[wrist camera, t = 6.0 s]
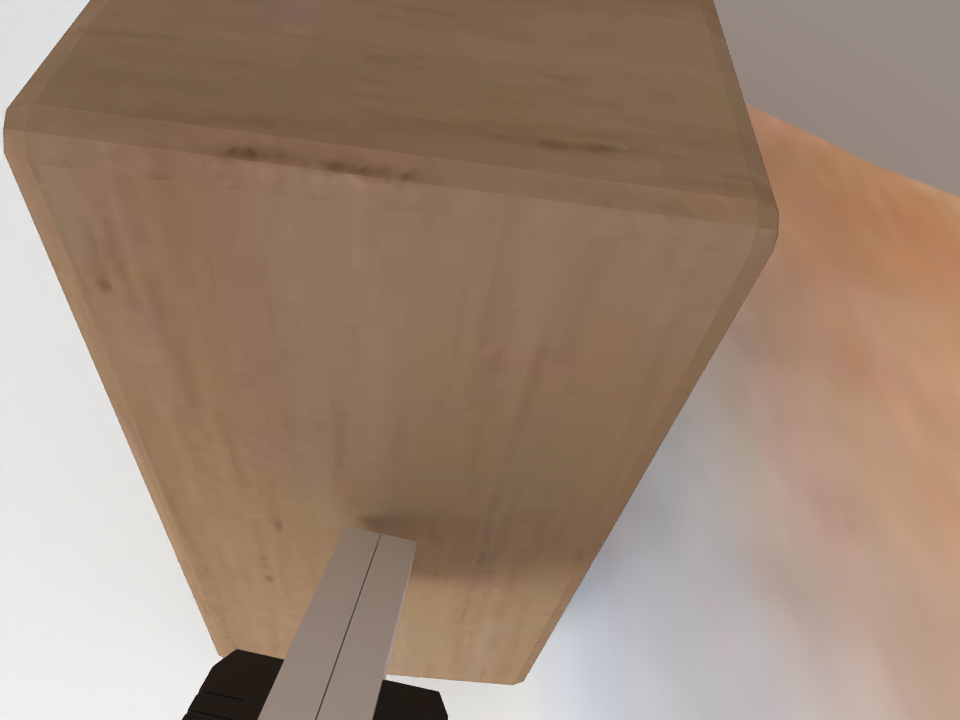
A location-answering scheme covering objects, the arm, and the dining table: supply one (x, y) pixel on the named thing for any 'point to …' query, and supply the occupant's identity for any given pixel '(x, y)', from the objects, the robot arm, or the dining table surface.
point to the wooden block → (395, 284)
